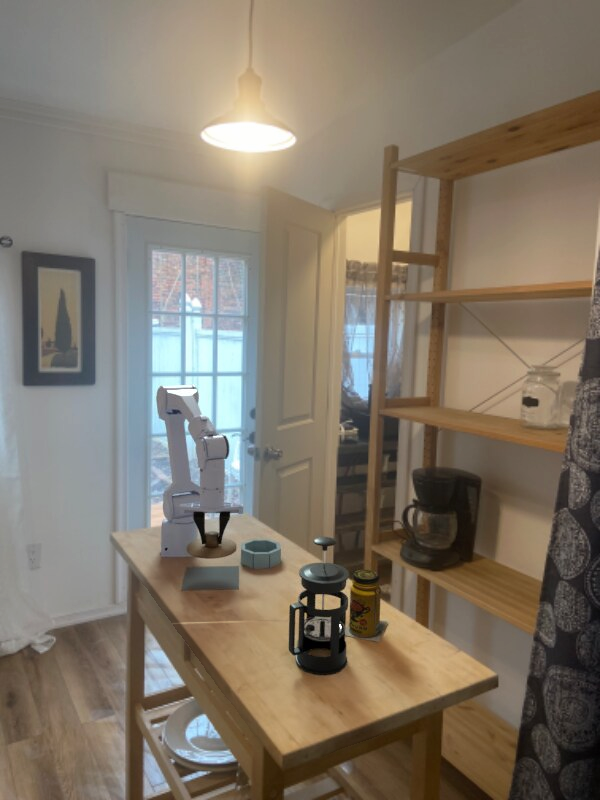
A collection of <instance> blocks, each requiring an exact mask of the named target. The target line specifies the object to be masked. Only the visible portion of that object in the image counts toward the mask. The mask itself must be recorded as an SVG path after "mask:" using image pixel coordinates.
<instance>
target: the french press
mask: <svg viewBox="0 0 600 800" xmlns="http://www.w3.org/2000/svg"><path fill="white" fill-rule="evenodd" d="M337 541H338V540H336V538H333V537H329V536H319V537H315V538H314V539H313V543H314V544H315V545H316V546H321V548H322V549H321V550H322V551H323V562H313V563H312V562H311V563H308V564H305V565H302V567H300V568H299V572H298V574H299V577H300V578H301V579H300V581H301V583H300V584H301V587H303V589H305V590H303V591H301V592H300V593H299V595H298V597H297V598H298V602H295V603H292V604H290V605H289V610H288V611H289V613H288V614H289V616H288V617H289V619H288V651H289V653H291V655H292V656H295V663H296V665H297V666H298V668H299V669H301V670H302V671H304V672H305V673H308V674H309V675H310V674H311V675H315V676H331V675H335V674H337V673H340V672H341V671H343V670H344V669H345V668H346V667H347V664H348V656H347V641H346V635H345V630H346V628H347V627H346V620H347V619H346V618H347V611H348V609H349V598H348V596H347V594H346V593H344V592H343V590H345V589H346V587H347V580H348V579H349V578H350V571H349V570H348V569H347V568H345V567H344V566H342V565H339V564H337V563H336V564H335V563H332V562H326V557H327V556H326V554H327V551H328V547H332V546H335V545H337V543H338V542H337ZM316 595H322V596H321V597H322V602H321V609H320V608H316V598H317V597H316ZM325 596H332V597H336V598H339V599H340V600H339V601H340V602H339V603H340V604H339V605H340V607H337V608H331V609H325ZM305 598H306V604H304V603H303V602H302V601H303V600H304V599H305ZM297 610H298V638H297V641H296V642H297V643H296V644H295V640H296V638H295V636H296V611H297ZM305 615H306V618H305ZM295 645H296V647H295ZM312 650H313V651H314V650H326V651H329V656H327V655H326V656H319V655H314V654H310V653H308V652H310V651H312Z"/></svg>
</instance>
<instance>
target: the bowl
mask: <svg viewBox="0 0 600 800" xmlns="http://www.w3.org/2000/svg"><path fill="white" fill-rule="evenodd" d="M281 559H282V547H281V543H280V542H278V541H276V540H272V539H269V538H259V539H258V538H257V539H254V538H253V539H249V540H247V541H245V542H242V543H240V564H241V565H243V566H246V567H248V568H251V569H272V568H273V567H276V566H278V565H280V564H281V562H282V561H281Z"/></svg>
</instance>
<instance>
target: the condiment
mask: <svg viewBox="0 0 600 800" xmlns="http://www.w3.org/2000/svg"><path fill="white" fill-rule="evenodd" d="M380 579H381V578H380V575H379V573H378V572H376V571H374V570H373V569H359V570H356V571H354V572H353V574H352V584H351V585H350V587H349V588H350V590H349V592H350V595H349V622H348V624H347V627H345V628H346V630H345V636H348V637H351V638H355V639H360V640H365V641H373V642H378V643H379V642H380V641H381V638H382V636H383V634H384V632H385V629H386V628H387V624H388V622H389V621H387V620H381V617H380V616H381V598H382V597H381V596H382V595H381V594H382V589H381V586H380Z"/></svg>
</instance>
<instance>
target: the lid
mask: <svg viewBox="0 0 600 800" xmlns="http://www.w3.org/2000/svg"><path fill="white" fill-rule="evenodd" d="M218 540H219V531H218V532H217V531H214V530H212V531H211V530H209V531H205V544H202V541H201V538H198V539H197V540H194V541H192V542H190V543H189V544H188V545H187V552H188V554H190V555H192V556H194V557H193V558H199V559H220V558H225V557H228V556H231V555H233V554H234V553H236V552H237V549H238V547H237V543H236V542H235V541H234V540H231V539H230V538H229V539H228V538H224V537H222V543H221V544H218Z"/></svg>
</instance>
